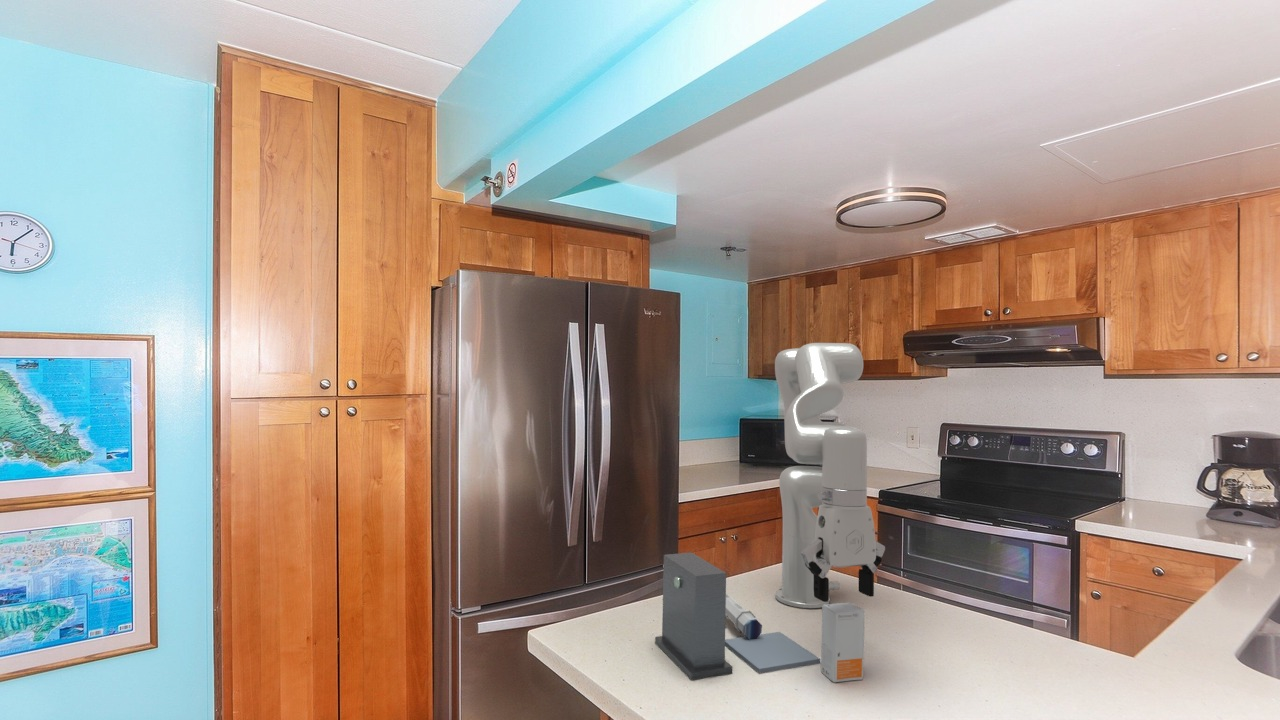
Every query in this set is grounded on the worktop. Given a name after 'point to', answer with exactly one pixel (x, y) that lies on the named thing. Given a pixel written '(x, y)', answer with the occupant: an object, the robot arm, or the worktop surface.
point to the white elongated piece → (742, 619)
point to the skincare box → (842, 642)
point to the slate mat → (771, 652)
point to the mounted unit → (694, 616)
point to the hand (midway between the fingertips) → (844, 596)
